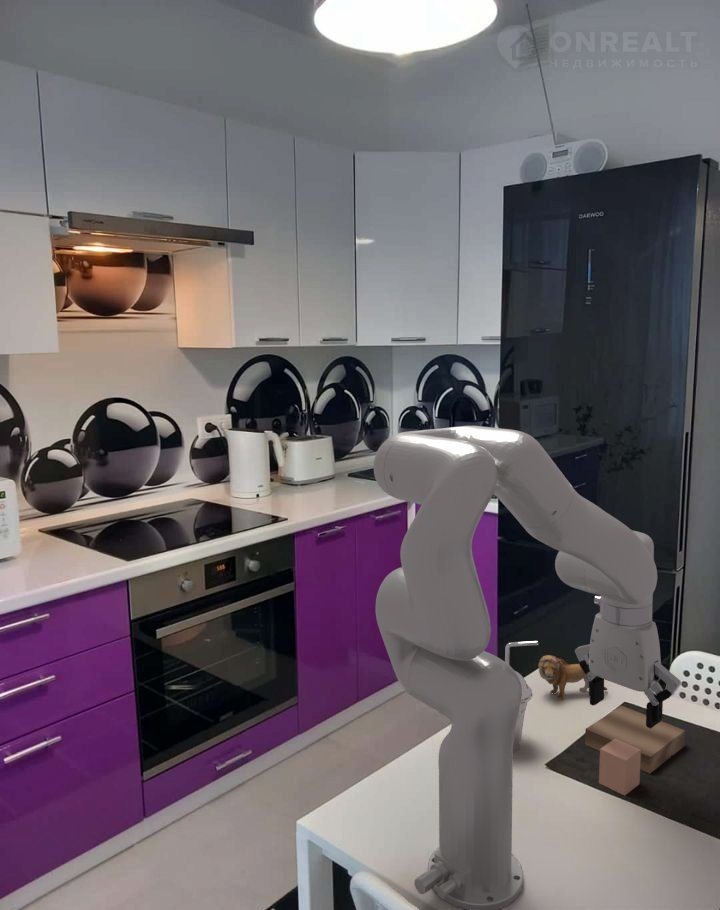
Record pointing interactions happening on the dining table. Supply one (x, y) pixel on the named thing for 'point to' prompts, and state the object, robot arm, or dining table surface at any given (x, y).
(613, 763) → the terracotta block
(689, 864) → the dining table surface
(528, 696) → the cup with straw
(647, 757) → the walnut base
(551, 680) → the lion figurine
